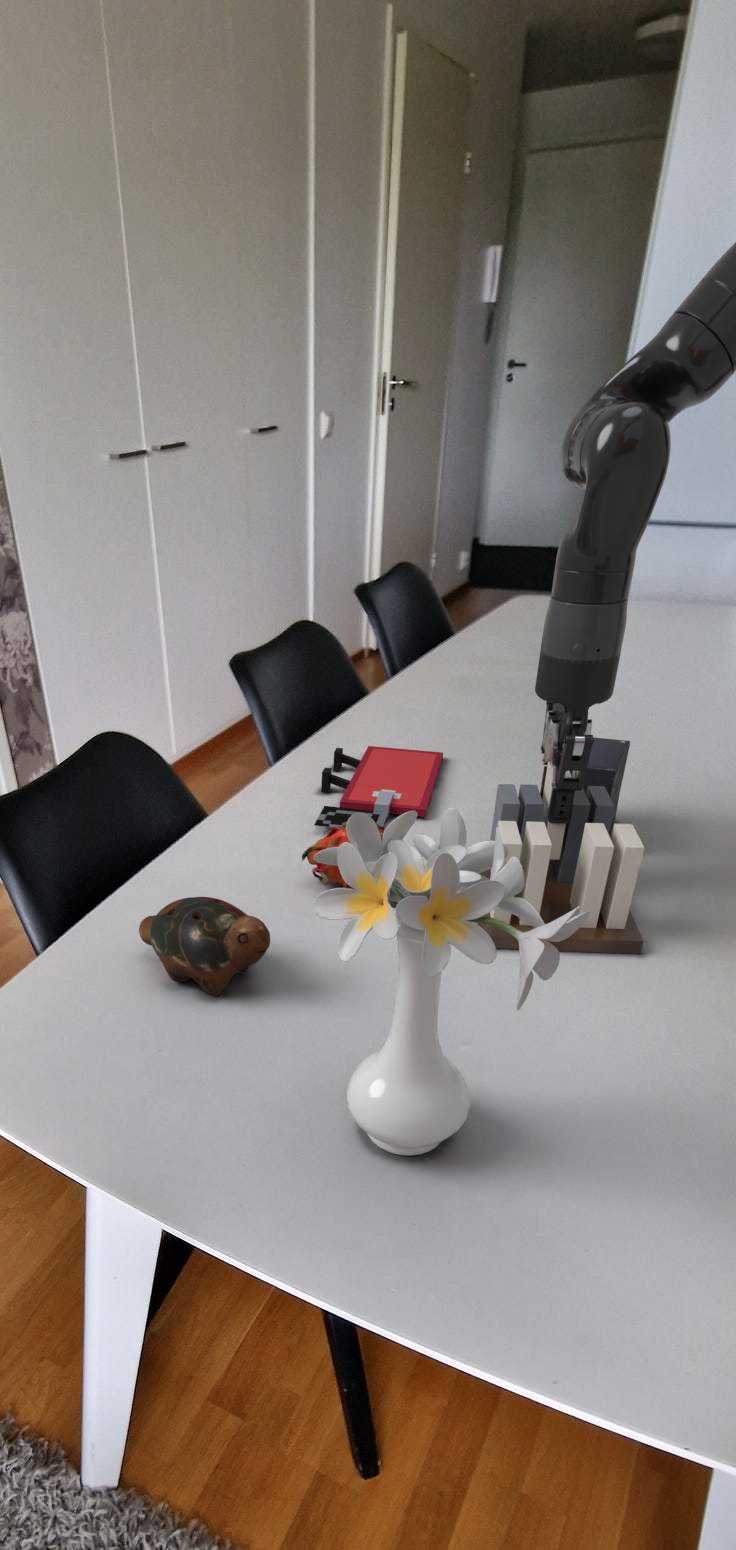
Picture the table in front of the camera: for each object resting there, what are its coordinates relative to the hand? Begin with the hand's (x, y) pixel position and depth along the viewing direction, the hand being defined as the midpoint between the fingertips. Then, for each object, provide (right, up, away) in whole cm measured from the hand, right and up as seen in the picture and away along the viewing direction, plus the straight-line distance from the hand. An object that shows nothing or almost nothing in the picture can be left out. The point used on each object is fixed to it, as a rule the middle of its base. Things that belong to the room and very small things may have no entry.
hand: (553, 810), depth 100 cm
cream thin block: (0, -4, +3) cm, 5 cm away
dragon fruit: (-21, -8, +5) cm, 23 cm away
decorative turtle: (-37, -18, -8) cm, 42 cm away
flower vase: (-20, -32, -27) cm, 46 cm away
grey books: (0, -6, +4) cm, 7 cm away
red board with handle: (-16, +9, +28) cm, 33 cm away
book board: (-1, -10, +1) cm, 10 cm away
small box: (+9, +1, +16) cm, 18 cm away
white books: (-1, -12, -4) cm, 12 cm away
